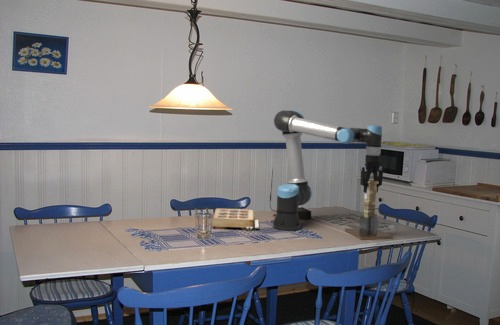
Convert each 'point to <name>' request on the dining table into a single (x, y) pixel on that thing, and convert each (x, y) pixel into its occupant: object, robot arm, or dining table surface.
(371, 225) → the stand
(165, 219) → the dining table surface
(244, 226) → the beige slotted box
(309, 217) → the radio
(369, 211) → the column
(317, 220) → the dining table surface
